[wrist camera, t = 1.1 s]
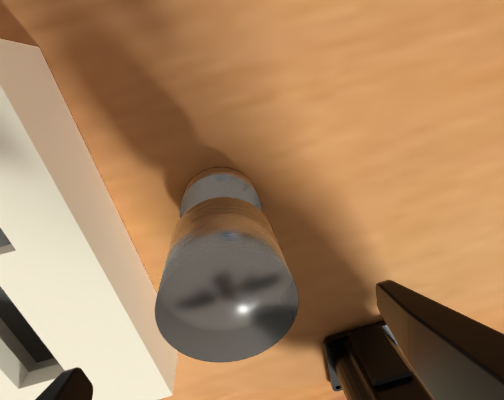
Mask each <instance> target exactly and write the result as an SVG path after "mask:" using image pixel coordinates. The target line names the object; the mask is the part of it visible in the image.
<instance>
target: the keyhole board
mask: <svg viewBox="0 0 504 400" xmlns="http://www.w3.org/2000/svg"><path fill="white" fill-rule="evenodd" d="M156 298H157V293H156V291H155V289H154V287H153V285H152V283H151V281H150V279H149V276H148V274H147V272H146V270H145V268H144V266H143V264H142V262H141V260H140V258H139V255H138V253H137V251H136V249H135V247H134V245H133V243H132V241H131V239H130V237H129V235H128V232H127V230H126V228H125V226H124V224H123V222H122V220H121V218H120V216H119V214H118V211H117V209H116V207H115V205H114V203H113V201H112V199H111V197H110V195H109V193H108V190H107V188H106V186H105V184H104V182H103V180H102V178H101V176H100V174H99V172H98V170H97V167H96V165H95V163H94V161H93V159H92V157H91V155H90V153H89V151H88V149H87V146H86V144H85V142H84V140H83V138H82V136H81V134H80V132H79V130H78V128H77V125H76V123H75V121H74V119H73V117H72V115H71V113H70V111H69V109H68V107H67V105H66V102H65V100H64V98H63V96H62V94H61V92H60V90H59V88H58V86H57V84H56V81H55V79H54V77H53V75H52V73H51V71H50V69H49V67H48V65H47V63H46V61H45V58H44V56H43V54H42V52H41V50H40V48H39V47H36V46H32V45H27V44H23V43H18V42H14V41H9V40H5V39H0V400H35V399H36V398H37V397H38V396H39V395H40V394H41V393H42V392H43V391H44V390H45V389H46V388H47V387H48V386H49V385H50V384H51V383H52V382H53V381H54V380H55V379H56V378H57V377H58V376H59V375H60V374H61V373H62V372H63V371H65V370H68V369H72V368H76V367H79V368H81V369H82V370H83V372H84V373H85V374H86V376H87V377H88V379H89V380H90V381H91V383H92V385H93V397H92V400H158V399H162V398H165V397H169V396H172V395H173V387H174V380H175V372H176V364H177V356H178V351H177V350H176V349H174V348H173V347H172V346H171V345H170V344H169V343H168V342H167V341H166V340H165V339H164V338H163V336H162V335H161V333H160V331H159V329H158V327H157V324H156V320H155V302H156Z"/></svg>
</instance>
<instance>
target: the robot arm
mask: <svg viewBox="0 0 504 400" xmlns="http://www.w3.org/2000/svg"><path fill="white" fill-rule="evenodd" d="M376 297H377V306H378V309H379V311H380V313H381V315H382V317H383V318H384V320H385V321H383V322H379V323H376V324H372V325H369V326H365V327H362V328H358V329H355V330H351V331H348V332H344V333H341V334H337V335H334V336H330V337H327V338H326V339H325V340H324V348H325V354H326V359H327V365H328V371H329V376H330V382H331V386H332V388H333V390H334V391H340V390H343V391H344V394H345V396H346V398H347V400H504V334H502V333H500V332H498V331H496V330H494V329H492V328H490V327H488V326H486V325H484V324H481V323H479V322H477V321H475V320H473V319H471V318H469V317H467V316H465V315H463V314H461V313H459V312H456V311H454V310H452V309H450V308H448V307H446V306H444V305H442V304H440V303H438V302H436V301H433V300H431V299H429V298H427V297H425V296H423V295H421V294H419V293H417V292H415V291H413V290H410V289H408V288H406V287H404V286H402V285H400V284H398V283H396V282H394V281H391V280H386V281H383V282H379V283H377V284H376ZM92 397H93V385H92V383H91V381H90V380H89V379H88V377H87V376H86V374H85V373H84V372H83V370H82V369H81V368H79V367H76V368H72V369H68V370H65V371H63V372H62V373H61V374H60V375H59V376H58V377H57V378H56V379H55V380H54V381H53V382H52V383H51V384H50V385H49V386H48V387H47V388H46V389H45V390H44V391H43V392H42V393H41V394H40V395H39V396H38V397H37V398H36V399H35V400H92Z"/></svg>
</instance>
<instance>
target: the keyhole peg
mask: <svg viewBox="0 0 504 400" xmlns="http://www.w3.org/2000/svg"><path fill="white" fill-rule="evenodd" d="M298 303H299V298H298V291H297V288H296V285H295V282H294V280H293V277H292V275H291V273H290V270H289V268H288V266H287V263H286V261H285V258H284V256H283V254H282V251H281V249H280V247H279V244H278V242H277V239H276V237H275V235H274V232H273V230H272V228H271V225H270V223H269V221H268V219H267V218H266V216H265V215H264V214H263V213H262V207H261V202H260V199H259V197H258V194H257V192H256V190H255V187H254V185H253V184H252V182H251V181H250V180H249V179H248V178H247V177H246V176H245V175H244V174H242V173H241V172H239V171H237V170H234V169H231V168H226V167H215V168H210V169H207V170H205V171H202V172H201V173H199V174H197V175H196V176H195V177H194V178H193V179H192V180H191V181H190V182H189V184H188V185H187V187H186V189H185V192H184V195H183V199H182V203H181V207H180V220H179V221H178V223H177V225H176V227H175V230H174V233H173V237H172V241H171V245H170V249H169V252H168V256H167V260H166V264H165V268H164V271H163V275H162V279H161V283H160V287H159V290H158V294H157V298H156V302H155V320H156V324H157V327H158V329H159V331H160V333H161V335H162V336H163V338H164V339H165V340H166V341H167V342H168V343H169V344H170V345H171V346H172V347H173V348H174V349H176V350H177V351H179V352H180V353H182V354H184V355H186V356H189V357H192V358H194V359H198V360H202V361H208V362H232V361H238V360H243V359H247V358H249V357H252V356H255V355H257V354H260V353H262V352H264V351H265V350H267V349H269V348H270V347H272V346H273V345H274V344H276V343H277V342H278V341H279V340H280V339H281V338H282V337H283V336H284V335H285V334H286V333H287V332H288V330H289V329H290V327H291V326H292V324H293V322H294V320H295V317H296V315H297V311H298Z"/></svg>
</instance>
